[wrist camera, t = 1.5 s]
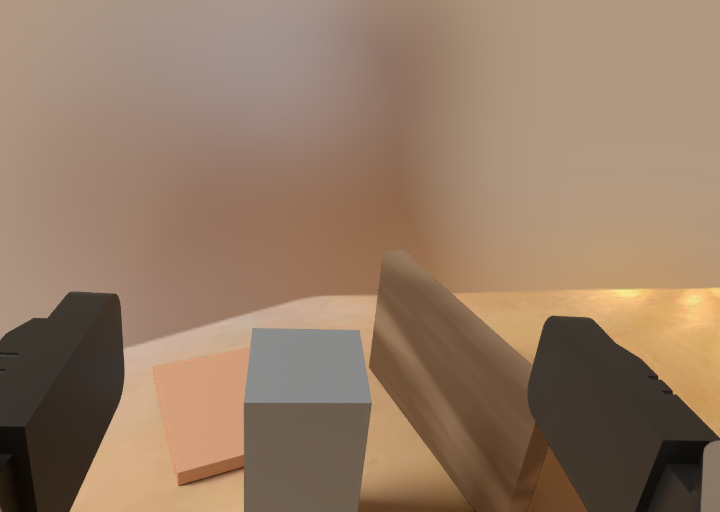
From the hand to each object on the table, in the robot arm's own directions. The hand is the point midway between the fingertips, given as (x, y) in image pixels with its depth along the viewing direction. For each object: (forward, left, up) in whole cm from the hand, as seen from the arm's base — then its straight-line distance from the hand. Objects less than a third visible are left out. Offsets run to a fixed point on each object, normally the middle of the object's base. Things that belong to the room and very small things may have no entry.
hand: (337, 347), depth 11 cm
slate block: (-4, -10, -21) cm, 24 cm away
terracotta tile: (-4, -21, -21) cm, 30 cm away
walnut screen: (-15, -14, -21) cm, 29 cm away
